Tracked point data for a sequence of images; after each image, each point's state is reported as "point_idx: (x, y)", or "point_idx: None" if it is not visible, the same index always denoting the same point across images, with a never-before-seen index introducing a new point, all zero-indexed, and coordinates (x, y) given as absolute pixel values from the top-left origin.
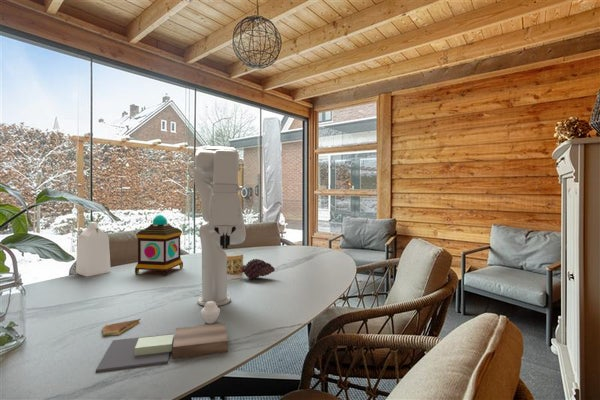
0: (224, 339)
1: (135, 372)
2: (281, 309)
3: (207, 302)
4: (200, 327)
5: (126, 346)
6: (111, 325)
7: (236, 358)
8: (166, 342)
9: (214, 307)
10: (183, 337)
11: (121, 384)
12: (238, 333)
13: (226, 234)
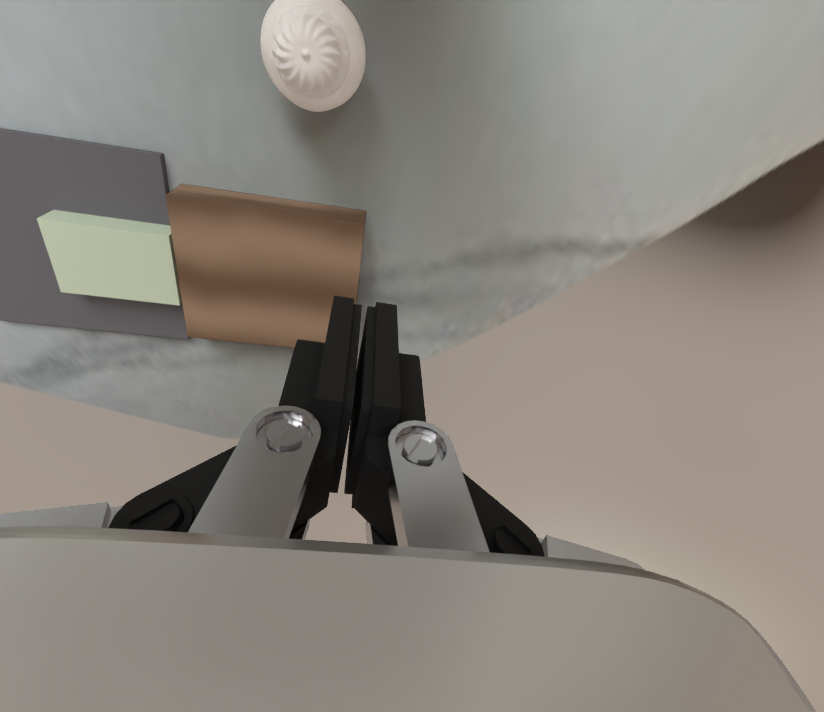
0: None
1: (117, 349)
2: (705, 37)
3: (287, 52)
4: (266, 226)
5: (7, 203)
6: None
7: None
8: (158, 290)
9: (330, 86)
10: (210, 287)
11: (104, 383)
12: (412, 233)
13: (361, 502)
